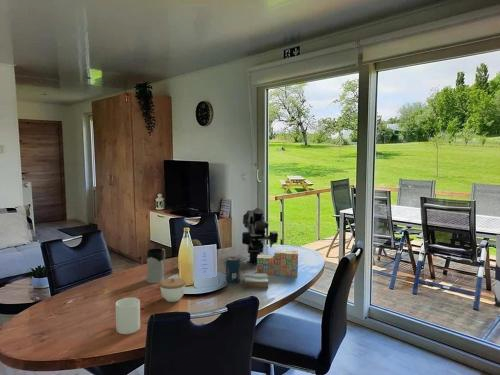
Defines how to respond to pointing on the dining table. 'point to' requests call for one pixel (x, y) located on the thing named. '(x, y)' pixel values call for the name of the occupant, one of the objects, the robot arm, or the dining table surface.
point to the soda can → (232, 270)
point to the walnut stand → (256, 280)
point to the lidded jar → (172, 289)
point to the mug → (127, 315)
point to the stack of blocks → (279, 263)
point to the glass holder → (155, 265)
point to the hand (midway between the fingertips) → (262, 246)
